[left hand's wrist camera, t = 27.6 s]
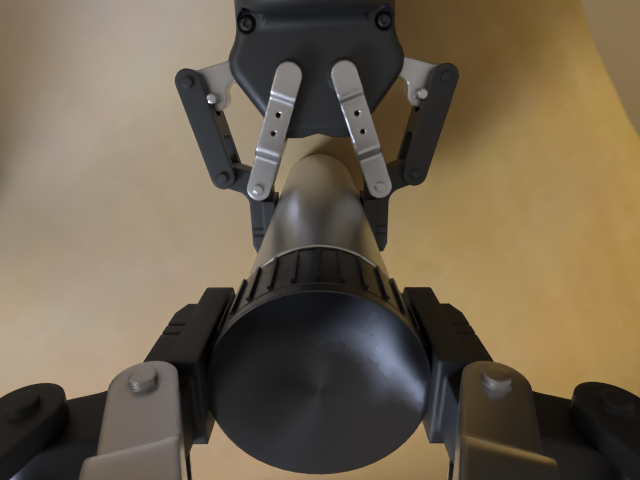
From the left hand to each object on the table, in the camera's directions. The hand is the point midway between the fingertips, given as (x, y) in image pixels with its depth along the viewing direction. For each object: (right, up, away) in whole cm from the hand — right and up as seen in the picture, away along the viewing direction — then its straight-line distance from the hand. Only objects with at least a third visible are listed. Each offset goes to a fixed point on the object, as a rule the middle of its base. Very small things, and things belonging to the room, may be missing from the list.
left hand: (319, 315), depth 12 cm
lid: (0, -1, -3) cm, 3 cm away
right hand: (0, +1, +11) cm, 11 cm away
